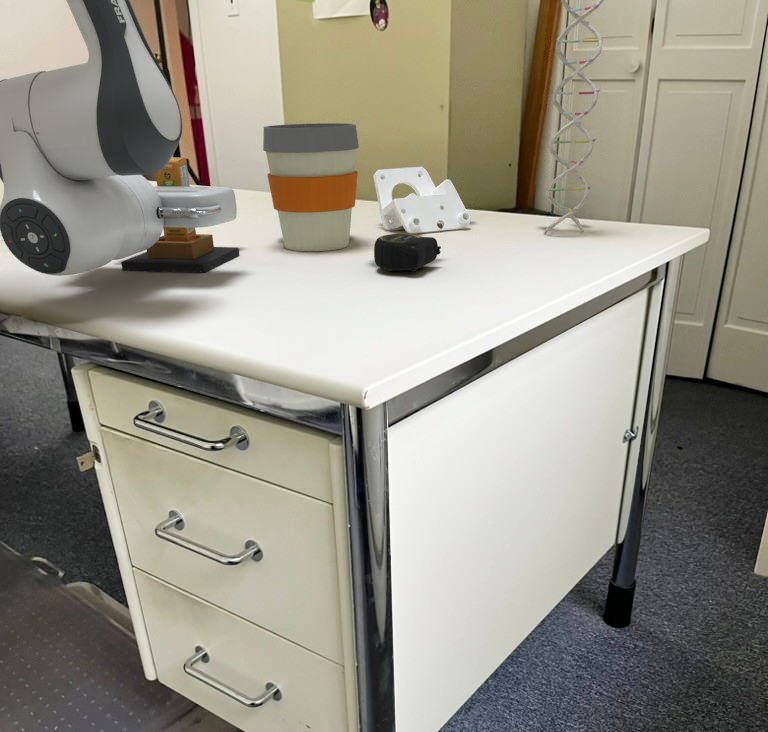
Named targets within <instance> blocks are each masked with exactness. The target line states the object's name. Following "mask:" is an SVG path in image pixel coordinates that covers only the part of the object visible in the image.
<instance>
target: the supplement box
mask: <svg viewBox="0 0 768 732" xmlns="http://www.w3.org/2000/svg"><path fill="white" fill-rule="evenodd" d="M155 179H156V186H169V187H191V186H190V185H191V184H190V178H189V171H188V162H187V159H186V157H171V159H170V160H169V162H168V163H167V164H166V166H165V167H164V168H163V169H162V170H161V171H160V172H158V173H156V174H155ZM162 231H163V236H164V237H165V241H185V242H188V241H191V240H193V239H196V238H197V237H196V234H197V230H196V228H185V227H163V230H162Z"/></svg>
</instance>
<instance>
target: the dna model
mask: <svg viewBox="0 0 768 732" xmlns="http://www.w3.org/2000/svg"><path fill="white" fill-rule="evenodd" d="M604 1H605V0H597V1H596V2H595V3H594V4H593V5H591V6H586V7H583V8H582V7H576V8H574V7H571V6H570V5H569V4H568V2H567V1H566V0H560V2H561V4H562V5H563V7H564V8H565V9H566V10H567V12H568V13H569V14H570V15H571V16H572V17H573V18H574V19H575V20H574V21H572V22H570V24H569V25H567V27H566V28H565V29H564V30H563V32H562V33H561V34H560V35H559V36H558V37H557V38H554V40H556V43H555V53H556V54H557V57H558V59H559V60H560V61H561V62H562V63H563V65H565V66H566V67H568V68H569V69H570V70H571V71H573V72H572V73H570V75H565V77H564V78H563V79H562V80H561V81H560V82H559V83H558V85H557V86H556V87H555V88H554V90H550V92H551V94H552V98H551V100H552V104H553V106H554V107H555V108H556V110H557V111H558V112H559V113H560V115H561V116H563V117H564V118H566V119H567V120H568V121H569V122H568V123H567V124H565V125H564V126H562V127H561V128H560V129H559V130H558V131H557V132H556V133H555V134H554V135H553V137H552V138H550V139H549V142H548V150H549V152H550V155H551V156H552V157H553V158H554V159H555V160H556V163H560V164H561V165H562V166H564V167H565V168H566V170H565V171H563V172H562V173H561V174H559V175H557V176H556V177H555V178H554V179H553V180H552V181H551V182H549V184H548V185H547V186H546V188H545V197H546V198H547V199H548V200H549V202H551V204H552V205H553V206H554V207H555V208H557V209H558V210H559V211H561V212H562V213H563V215H562V216H560V217H559V218H557V219H556V220H554V221H553V222H551V224H549V225H548V227H546V228H545V230H544V231H543V235H546V234H547V233H549V232H550V231H551V230H552V229H553V228H555V227H556V226H558V225H559V224H560V223H561V222H563V221H564V220H566V219H568V218H569V219H571V220H572V221H573V223H574V224H575V225H576V227H577V228H578V229H579V231H580V233H582V234H583V233H584V232H585V229H584V228H583V226H582V224H581V222H580V220H579V219H578V218H577V217H576V216H575V215H574V214H575V213H576V212H578V211H579V210H580V209H581V208H582V207H583V206H584V204H585V203H586V202H587V200H588V197H589V192H590V189H591V188H592V186H589V184H588V182H587V179H586V178H585V177H583V176H582V175H581V174H580V173H579V171H578V170H577V168H579V166H581V165H582V164H584V163H585V162H586V161H587V160H588V159H589V157H590V156H591V154H592V152H593V149H594V142H596V141H597V138H593V137H592V135H591V134H590V132H589V130H588V129H587V128H586V127H585V126H584V125H583V124H582V121H581V120H582V119H583V118H585V117H586V116H588V115H589V113H591V112H592V110H594V108H595V106H596V105H597V103H598V99H599V96H598V95H599V92H601V89H597V86H596V85H595V84H594V82H593V81H591V79H589V77H588V76H586V74H585V73H584V72H583V70H584V69H586V68H587V67H589V66H590V65H591V64H592V63H594V61H595V60H596V59H597V58H598V57H599V56H600V55H601V54H602V49H603V42H604V39H603V37H602V36H601V34H600V32H599V31H598V30H597V29H596V28H595V27H594V26H593V25H592V24H591V23H590V21H587V20H586V19H585V18H587V17H589V15H591V14H592V13H593V12H595V11H596V10H597V9H598V8H599V7H600V6H601V5H602V3H603V2H604ZM580 11H585V12H584V13H583V14H581V15H579V14H578V13H577V12H580ZM578 24H582V25H583V26H584V27H585V28H586V29H587V30H588V31H590V32H591V33H592V34H593V35H594V37H595V39H565V38H566V37H567V35H568V34H570V32H571V31H572V30H573V29H574V28H575V27H576V26H578ZM566 43H567V44H568V43H569V44H575V43H598V44H597V46H596V47H595V49H594V50H593V53H592V54H591V56H590V58H589V59H587V60H577V61H576V60H572V61H569V60H568V59H567V57H566V56H565V55H564V53H563V52H562V50H561V49H562V48H561V47H562V46H561V45H562V44H566ZM576 64H580V66H579V67H578V68H576V67H575V66H574V65H576ZM581 64H582V65H581ZM576 75H577V76H578V77H579V78H580V79H581V80H582V81H583V82H585V83H586V84H587V85H588V86H589V87H590V90H591V91H579V92H578V95H593V98H592V99H593V100H592V101H591V104H590V105H589V106H588V107H587V108H586V109H585V110H584V111H583V112H574V113H573V111H571V112H570V111H565V109H564V108H563V107H562V106H561V104H560V103H559V102H558V100H557V95H559V96H560V95H574V92H573V91H561V90H562V89H563V88H564V87H565V86H567V84H568V83H569V82H570V81H571V80H572V79H573V78H574V77H575V76H576ZM572 115H574V116H576V117H575V118H573V117H572ZM573 126H575V127H576V128H577V129H578V130H579V131H581V132H582V133H583V135H584V136H585V137H586V139H587V140H574V144H587V143H588V150H587V151H586V153H585V154H584V155H583V156H582V157H581V158H580V159H579V160H578V161H575V160H568V159H563V158H562V157H560V156H559V155H558V154H557V152H556V150H555V148H554V144H572V141H571V140H558V139H559V138H560V137H561V136H562V135H563V134H564V132H566V131H567V130H569V129H570V128H571V127H573ZM569 163H571V164H574V165H571V164H569ZM570 174H572V175H574V176H575V177H576V178H577V179H578V180H579V181H580V182H581V183H582V185H583V187H569V188H562V187H561V188H556V187H555V188H552V187H553V186H554V185H555V184H556V183H558V182H559V181H563V178H565V177H566V176H568V175H570ZM564 191H584V192H583V197H582V199H581V200H580V202H579V203H578V204H576V205H575V206H574V207H573V208H570V207H566V206H563V205H561V204H560V203H559V202H558V201H557V200H556V199H555V198H554V197H553V196H552V195H551V193H550V192H564Z"/></svg>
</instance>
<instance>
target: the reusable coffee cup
mask: <svg viewBox="0 0 768 732" xmlns="http://www.w3.org/2000/svg"><path fill="white" fill-rule="evenodd" d="M262 147H263V148H262V150H263V152H265V155H266V159H267V165H268V169H269V173H267V180H268V184H269V186H268V187H269V190H270V195H271V199H272V205H273V209H274V210H275V211H277V215H278V221H279V226H280V230H281V231H280V232H281V235H282V241H283V245H284V248H285V249H286V250H289V251H297V252H326V251H327V252H328V251H335V250H341V249H345V248H347V247H349V245H350V234H351V223H352V209H353V208H354V207H356V200H357V199H356V198H357V187H358V173H359V172H358V170H356V159H357V149H360V146H359V138H358V131H357V124H355V123H340V122H339V123H337V122H331V123H330V122H328V123H327V122H324V123H318V122H317V123H292V124H291V123H290V124H274V125H265V126H263V145H262Z"/></svg>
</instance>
